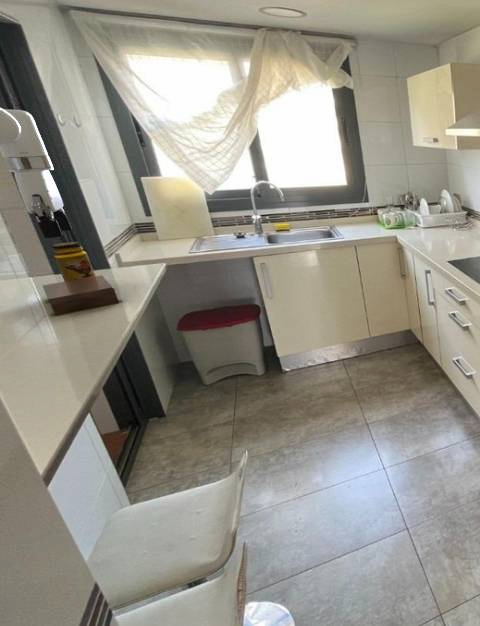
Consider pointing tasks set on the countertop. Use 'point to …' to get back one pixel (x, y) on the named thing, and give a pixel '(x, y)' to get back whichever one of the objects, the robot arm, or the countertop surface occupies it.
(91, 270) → the condiment
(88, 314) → the countertop surface
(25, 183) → the robot arm
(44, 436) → the countertop surface
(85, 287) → the brown wooden base
